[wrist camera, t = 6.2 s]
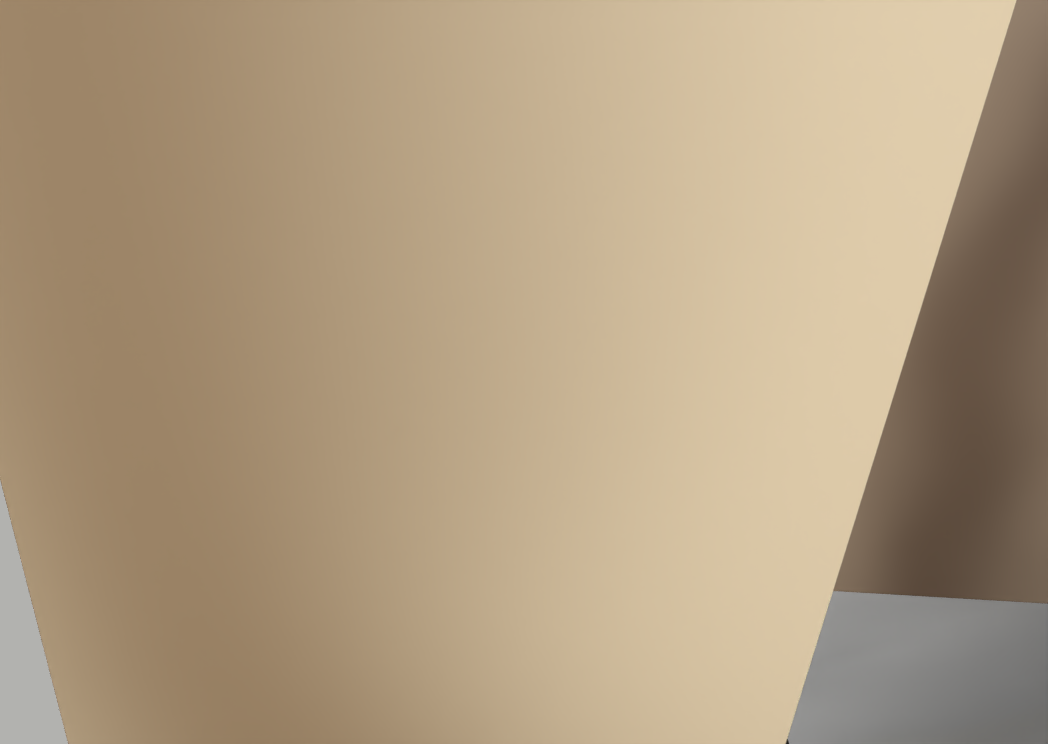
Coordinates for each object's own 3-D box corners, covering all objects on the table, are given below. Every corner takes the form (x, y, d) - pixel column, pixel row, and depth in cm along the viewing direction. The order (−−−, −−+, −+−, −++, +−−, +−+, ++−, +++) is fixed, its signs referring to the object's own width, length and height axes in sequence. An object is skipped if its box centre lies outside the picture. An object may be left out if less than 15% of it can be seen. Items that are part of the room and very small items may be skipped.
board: (1516, -429, 16) (1606, -458, 14) (1054, 570, 27) (1081, 605, 25) (266, -544, 15) (241, -586, 14) (320, 526, 26) (309, 560, 25)
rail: (782, -419, 6) (1352, -1074, 2) (559, 966, 15) (577, 1412, 11) (222, -471, 6) (-460, -1299, 2) (321, 959, 15) (239, 1408, 10)
